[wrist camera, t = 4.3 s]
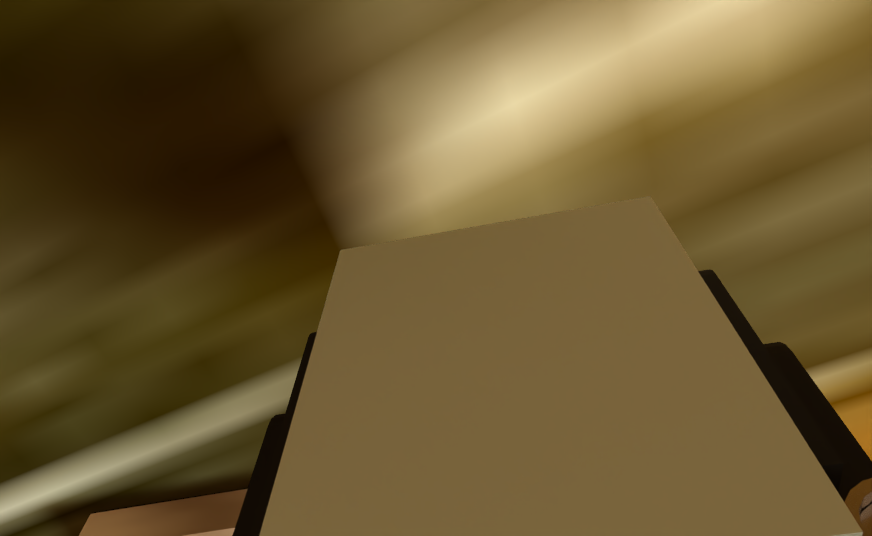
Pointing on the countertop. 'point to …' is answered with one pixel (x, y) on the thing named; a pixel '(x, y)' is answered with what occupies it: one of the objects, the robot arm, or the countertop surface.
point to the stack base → (171, 518)
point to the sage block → (540, 395)
